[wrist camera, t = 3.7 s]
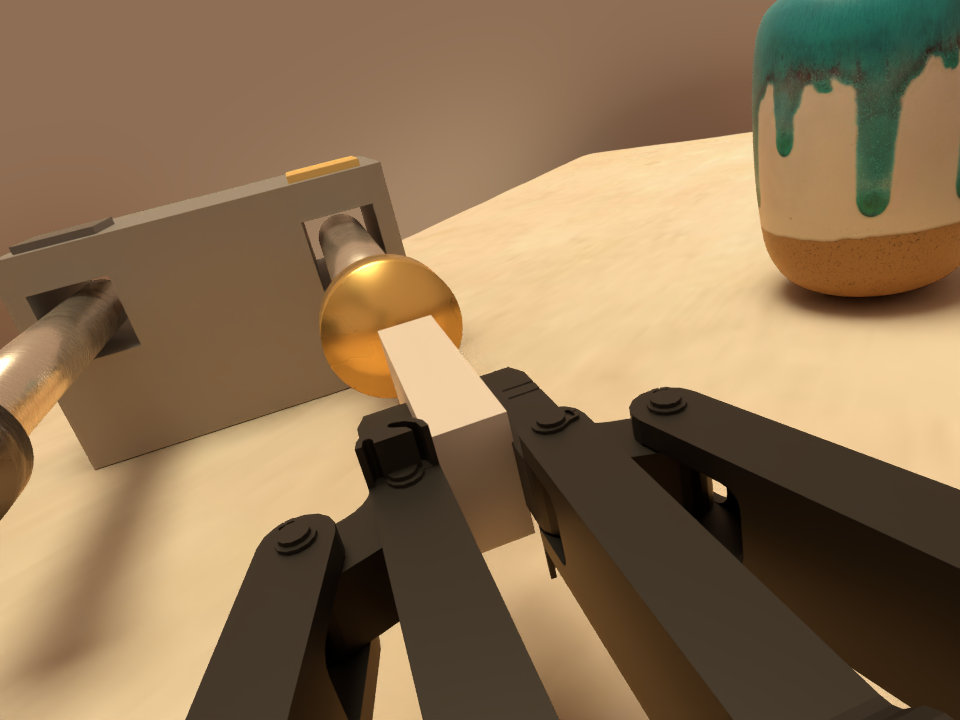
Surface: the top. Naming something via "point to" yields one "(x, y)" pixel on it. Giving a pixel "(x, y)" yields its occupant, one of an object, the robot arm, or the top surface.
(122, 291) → the console
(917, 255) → the vase
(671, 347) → the top surface
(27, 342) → the plunger grey
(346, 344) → the plunger ochre
